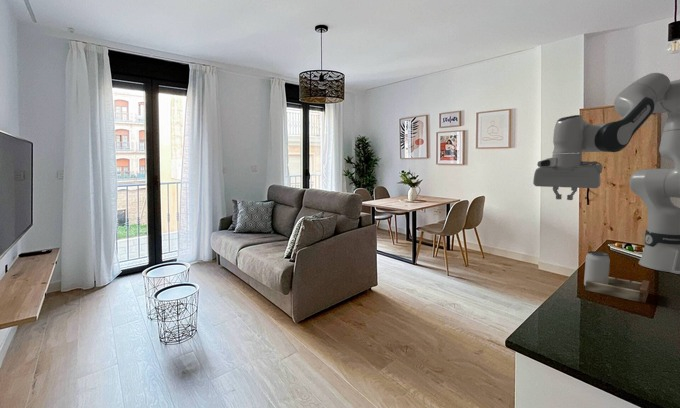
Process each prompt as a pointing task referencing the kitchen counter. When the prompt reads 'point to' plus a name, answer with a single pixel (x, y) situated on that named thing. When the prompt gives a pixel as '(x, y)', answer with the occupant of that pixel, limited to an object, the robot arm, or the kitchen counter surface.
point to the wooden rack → (621, 289)
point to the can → (597, 267)
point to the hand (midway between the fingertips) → (564, 199)
